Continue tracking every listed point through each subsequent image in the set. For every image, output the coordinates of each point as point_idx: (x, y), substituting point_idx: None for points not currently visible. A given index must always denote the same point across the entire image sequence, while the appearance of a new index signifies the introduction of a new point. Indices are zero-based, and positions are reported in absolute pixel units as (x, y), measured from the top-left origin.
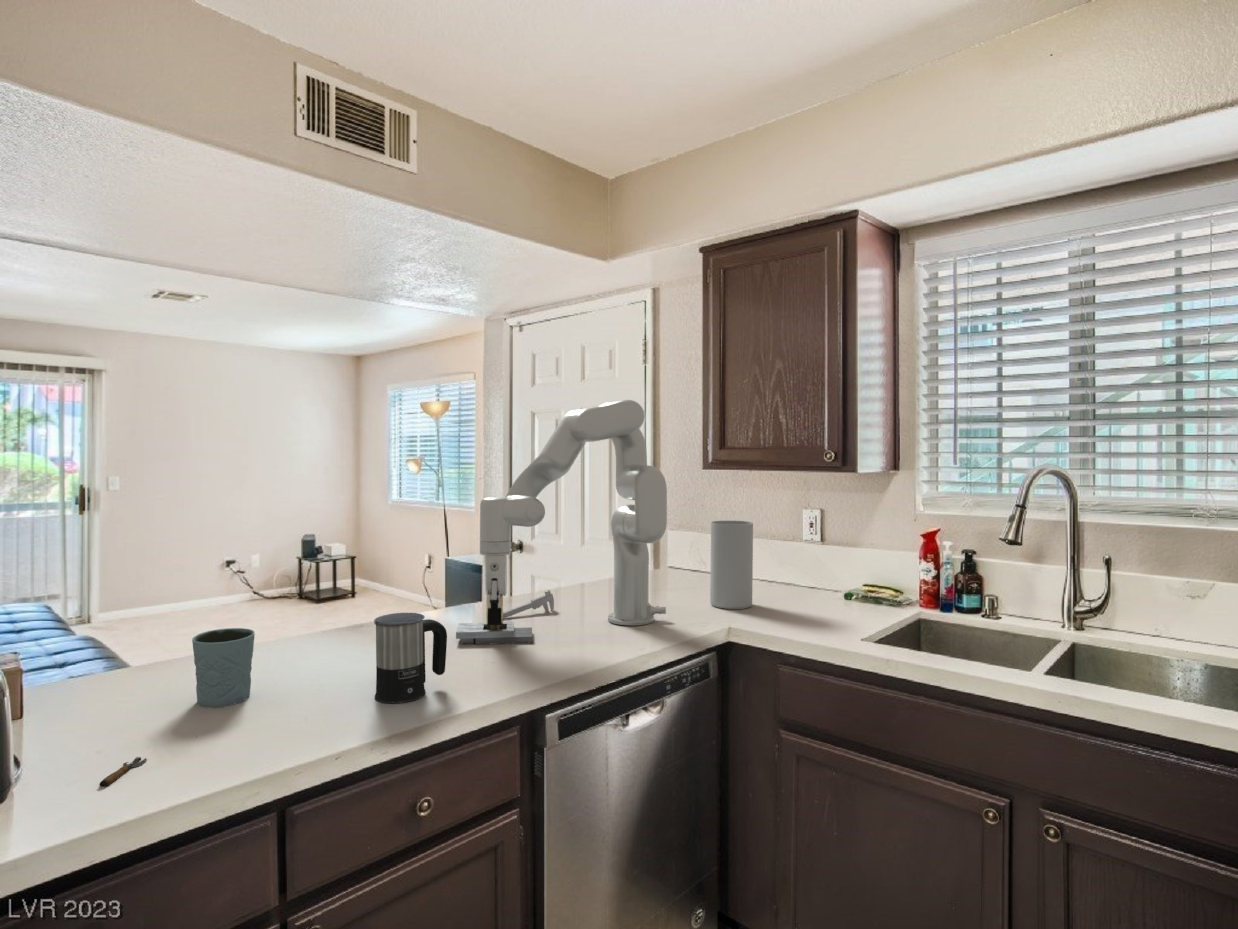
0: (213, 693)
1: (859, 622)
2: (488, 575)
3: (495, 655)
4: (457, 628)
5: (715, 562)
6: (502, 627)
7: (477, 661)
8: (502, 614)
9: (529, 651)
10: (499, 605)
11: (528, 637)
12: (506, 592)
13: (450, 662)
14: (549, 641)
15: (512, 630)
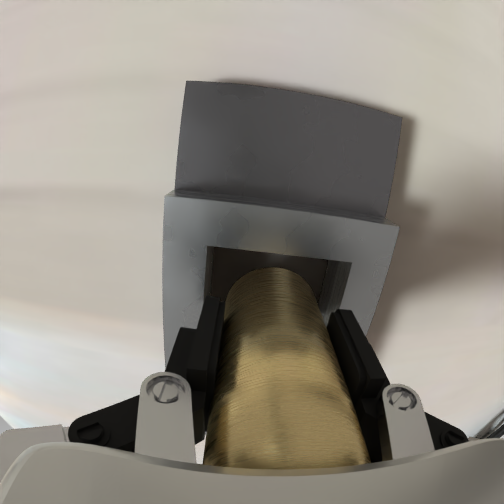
0: None
1: None
2: None
3: (476, 292)
4: None
5: None
6: (291, 279)
7: (489, 337)
8: (308, 327)
9: (485, 169)
10: (420, 407)
11: (398, 138)
12: (407, 469)
13: (459, 391)
14: (375, 37)
15: (389, 232)
